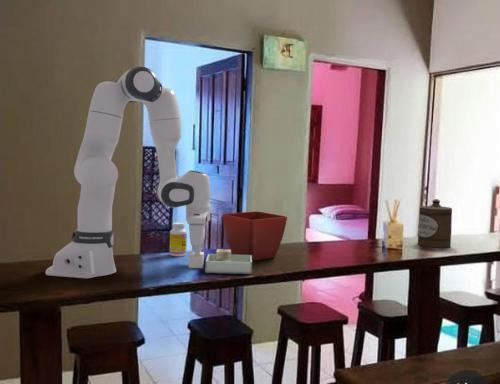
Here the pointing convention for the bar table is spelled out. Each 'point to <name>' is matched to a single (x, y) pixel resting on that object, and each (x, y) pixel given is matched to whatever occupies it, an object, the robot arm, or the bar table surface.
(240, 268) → the tray
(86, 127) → the robot arm
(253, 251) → the plant pot
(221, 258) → the beech block
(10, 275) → the bar table surface
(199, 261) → the white cube
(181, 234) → the supplement bottle
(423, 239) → the wooden container
